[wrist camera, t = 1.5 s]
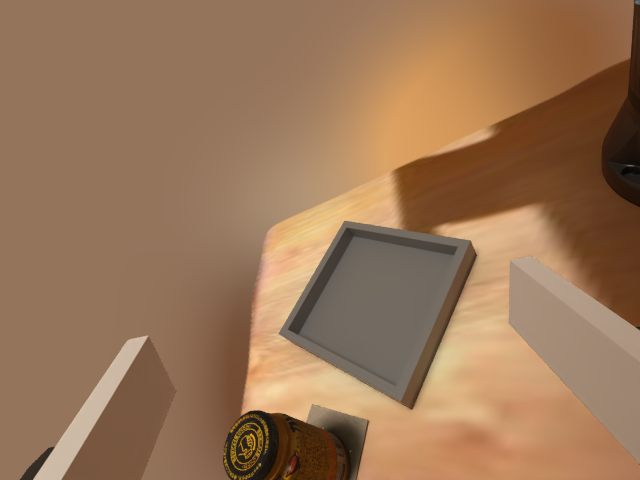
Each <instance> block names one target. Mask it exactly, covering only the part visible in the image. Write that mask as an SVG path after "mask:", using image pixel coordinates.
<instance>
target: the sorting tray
mask: <svg viewBox="0 0 640 480" xmlns="http://www.w3.org/2000/svg"><path fill="white" fill-rule="evenodd" d="M476 256H477V255H476V252H475V250H474V248H473V245H472V243H471V241H470V240H463V239H457V238H451V237H444V236H438V235H432V234H425V233H419V232H412V231H406V230H400V229H393V228H387V227H381V226H374V225H368V224H361V223H355V222H349V221H344V223H343V224H342V226H341V228H340V230H339V231H338V233H337V235H336V236H335V238H334V240H333V241H332V243H331V245H330V247H329V248H328V250H327V252H326V253H325V255H324V257H323V259H322V260H321V262H320V264H319V265H318V267H317V269H316V271H315V272H314V274H313V276H312V277H311V279H310V281H309V283H308V284H307V286H306V288H305V289H304V291H303V293H302V295H301V296H300V298H299V300H298V301H297V303H296V305H295V307H294V308H293V310H292V312H291V313H290V315H289V317H288V319H287V320H286V322H285V324H284V325H283V327H282V329H281V331H280V332H279V334H280V335H281V336H283V337H284V338H286V339H288V340H289V341H291V342H292V343H294V344H296V345H298V346H299V347H301V348H303V349H305V350H307V351H308V352H310V353H312V354H314V355H315V356H317V357H319V358H321V359H323V360H324V361H326V362H328V363H330V364H331V365H333V366H335V367H337V368H339V369H340V370H342V371H344V372H346V373H348V374H349V375H351V376H353V377H355V378H356V379H358V380H360V381H362V382H364V383H365V384H367V385H369V386H371V387H373V388H374V389H376V390H378V391H380V392H381V393H383V394H385V395H387V396H389V397H390V398H392V399H394V400H396V401H398V402H399V403H401V404H403V405H405V406H406V407H408V408H410V409H412V408H413V406H414V404H415V401H416V399H417V397H418V394H419V392H420V389H421V387H422V385H423V382H424V380H425V378H426V375H427V373H428V370H429V368H430V366H431V363H432V361H433V359H434V356H435V354H436V351H437V349H438V347H439V344H440V342H441V339H442V337H443V335H444V332H445V330H446V328H447V325H448V323H449V320H450V318H451V316H452V313H453V311H454V309H455V306H456V304H457V301H458V299H459V297H460V294H461V292H462V289H463V287H464V285H465V282H466V280H467V278H468V275H469V273H470V270H471V268H472V266H473V263H474V261H475V259H476Z"/></svg>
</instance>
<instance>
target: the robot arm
mask: <svg viewBox="0 0 640 480" xmlns="http://www.w3.org/2000/svg"><path fill="white" fill-rule="evenodd" d="M602 171H603V174H604V177H605V179H606V181H607V182H608V184H609V185H610V186H611V187H612V188H613V189H614V190H615V191H616V192H617V193H618V194H620V195H621V196H622V197H624V198H625V199H627V200H629V201H631V202H633V203H635V204H637V205H639V206H640V0H634V16H633V31H632V47H631V59H630V71H629V87H628V96H627V98H626V100H625V101H624V103H623V105H622V107H621V109H620V111H619V112H618V114H617V116H616V118H615V120H614V121H613V123H612V125H611V127H610V129H609V131H608V132H607V134H606V136H605V139H604V142H603V146H602ZM509 324H510V325H511V326H512V327H513V328H514V329H515V331H516V332H517V333H518V334H519V335H520V336H521V337H522V338H523V339H524V340H525V341H526V342H527V343H528V345H529V346H530V347H531V348H532V349H533V350H534V351H535V352H536V353H537V354H538V355H539V356H540V358H541V359H542V360H543V361H544V362H545V363H546V364H547V365H548V366H549V367H550V368H551V369H552V371H553V372H554V373H555V374H556V375H557V376H558V377H559V378H560V379H561V380H562V381H563V382H564V384H565V385H566V386H567V387H568V388H569V389H570V390H571V391H572V392H573V393H574V394H575V395H576V396H577V398H578V399H579V400H580V401H581V402H582V403H583V404H584V405H585V406H586V407H587V408H588V409H589V411H590V412H591V413H592V414H593V415H594V416H595V417H596V418H597V419H598V420H599V421H600V422H601V424H602V425H603V426H604V427H605V428H606V429H607V430H608V431H609V432H610V433H611V434H612V435H613V437H614V438H615V439H616V440H617V441H618V442H619V443H620V444H621V445H622V446H623V447H624V448H625V449H626V451H627V452H628V453H629V454H630V455H631V456H632V457H633V458H634V459H635V460H636V461H637V462H638V464H639V465H640V327H636V328H635V327H634V326H633V325H631V324H630V323H628V322H627V321H625V320H624V319H622V318H621V317H619V316H618V315H617V314H615V313H614V312H612V311H611V310H609V309H608V308H606V307H605V306H604V305H602V304H601V303H599V302H598V301H596V300H595V299H593V298H592V297H591V296H589V295H588V294H586V293H585V292H583V291H582V290H580V289H579V288H578V287H576V286H575V285H573V284H572V283H570V282H569V281H567V280H566V279H564V278H563V277H562V276H560V275H559V274H557V273H556V272H554V271H553V270H551V269H550V268H549V267H547V266H546V265H544V264H543V263H541V262H540V261H538V260H537V259H536V258H534V257H533V256H528V257H523V258H519V259H514V260H510V287H509ZM175 393H176V390H175V388H174V386H173V384H172V382H171V380H170V378H169V376H168V374H167V372H166V370H165V368H164V366H163V363H162V362H161V359H160V358H159V355H158V353H157V351H156V349H155V347H154V345H153V343H152V341H151V339H150V337H149V336H144V337H139V338H134V339H129V340H128V341H127V342H126V343H125V345H124V346H123V348H122V349H121V351H120V352H119V354H118V355H117V357H116V358H115V360H114V361H113V363H112V364H111V365H110V367H109V368H108V370H107V371H106V373H105V375H104V376H103V378H102V379H101V380H100V382H99V383H98V385H97V386H96V388H95V389H94V391H93V392H92V394H91V395H90V397H89V398H88V400H87V401H86V403H85V404H84V406H83V407H82V408H81V410H80V411H79V413H78V414H77V416H76V417H75V419H74V420H73V422H72V423H71V425H70V426H69V427H68V429H67V431H66V432H65V433H64V435H63V436H62V438H61V439H60V441H59V442H58V444H57V445H56V447H51V448H48V449H47V450H46V451H45V452H44V453H43V454H42V455H41V456H40V457H39V458H38V459H37V460H36V461H35V462H34V463H33V464H32V465H31V466H30V467H29V468H28V469H27V471H26V472H25V473H24V475H23V477H22V478H21V479H20V480H141V478H142V476H143V473H144V471H145V468H146V466H147V463H148V461H149V458H150V456H151V453H152V451H153V448H154V446H155V443H156V440H157V438H158V436H159V433H160V431H161V428H162V426H163V423H164V421H165V418H166V416H167V413H168V411H169V408H170V406H171V403H172V401H173V398H174V396H175Z"/></svg>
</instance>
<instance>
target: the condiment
mask: <svg viewBox="0 0 640 480" xmlns="http://www.w3.org/2000/svg"><path fill="white" fill-rule="evenodd" d="M367 423H368V420H365V419H361V418H358V417H354V416H351V415H348V414H344V413H340V412H337V411H334V410H330V409H327V408H323V407H320V406H317V405H313V404H312V406H311V409H310V412H309V416H308V420H307V422H306V423H305V422H303V421H300V420H298V419H295V418H293V417H290V416H288V415H286V414H281V413H272V414H270V413H266V412H263V411H259V410H258V411H255V410H254V411H249V412H248V413H246V414H244V415H242V416H241V417H240V418H239V419H238V420H237V421H236V423H235V424H234V425H233V426H232V428H231V430H230V432H229V434H228V437H227V440H226V443H225V446H224V457H223V463H224V467H225V470H226V472H227V475H228V476H229V478H230V479H231V480H356V477H357V472H358V467H359V460H360V456H361V452H362V447H363V443H364V438H365V431H366V427H367ZM323 427H324V429H322V428H323ZM350 450H351V452H350Z"/></svg>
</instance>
